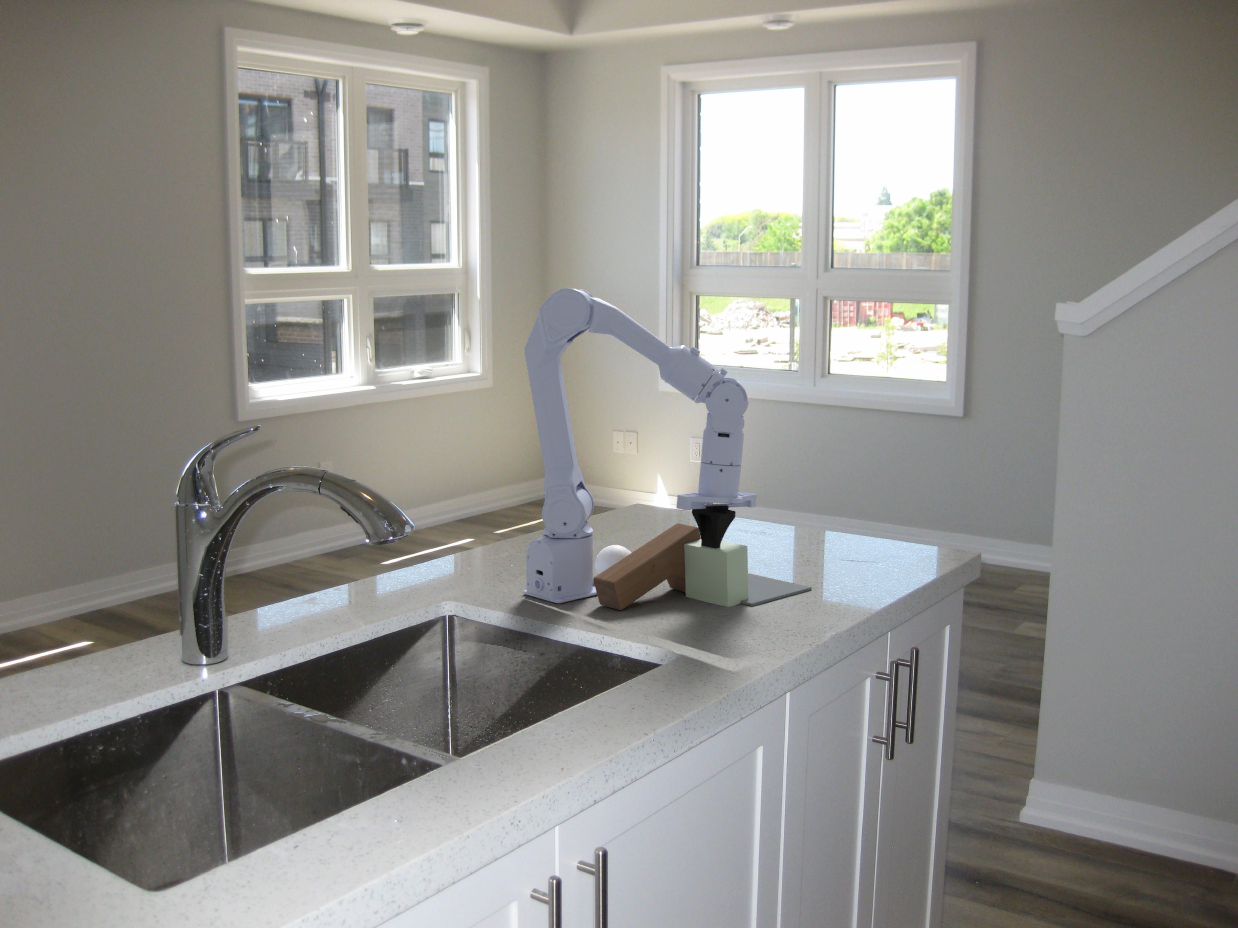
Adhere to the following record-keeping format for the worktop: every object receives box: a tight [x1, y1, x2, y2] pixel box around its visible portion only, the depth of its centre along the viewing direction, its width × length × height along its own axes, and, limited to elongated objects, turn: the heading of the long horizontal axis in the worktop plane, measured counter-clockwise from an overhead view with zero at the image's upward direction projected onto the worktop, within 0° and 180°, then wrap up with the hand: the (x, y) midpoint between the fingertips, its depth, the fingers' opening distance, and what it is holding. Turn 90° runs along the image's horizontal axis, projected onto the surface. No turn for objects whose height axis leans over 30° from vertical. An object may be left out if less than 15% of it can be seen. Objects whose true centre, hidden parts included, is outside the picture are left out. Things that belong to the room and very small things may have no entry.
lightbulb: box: [594, 544, 632, 576], centre depth 177 cm, size 6×6×11 cm
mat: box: [739, 572, 813, 607], centre depth 171 cm, size 14×12×1 cm
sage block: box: [684, 539, 749, 608], centre depth 165 cm, size 4×8×8 cm, turn 44°
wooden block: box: [593, 523, 701, 611], centre depth 165 cm, size 9×4×18 cm
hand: (712, 558), depth 164 cm, fingers closed, pressing on sage block
